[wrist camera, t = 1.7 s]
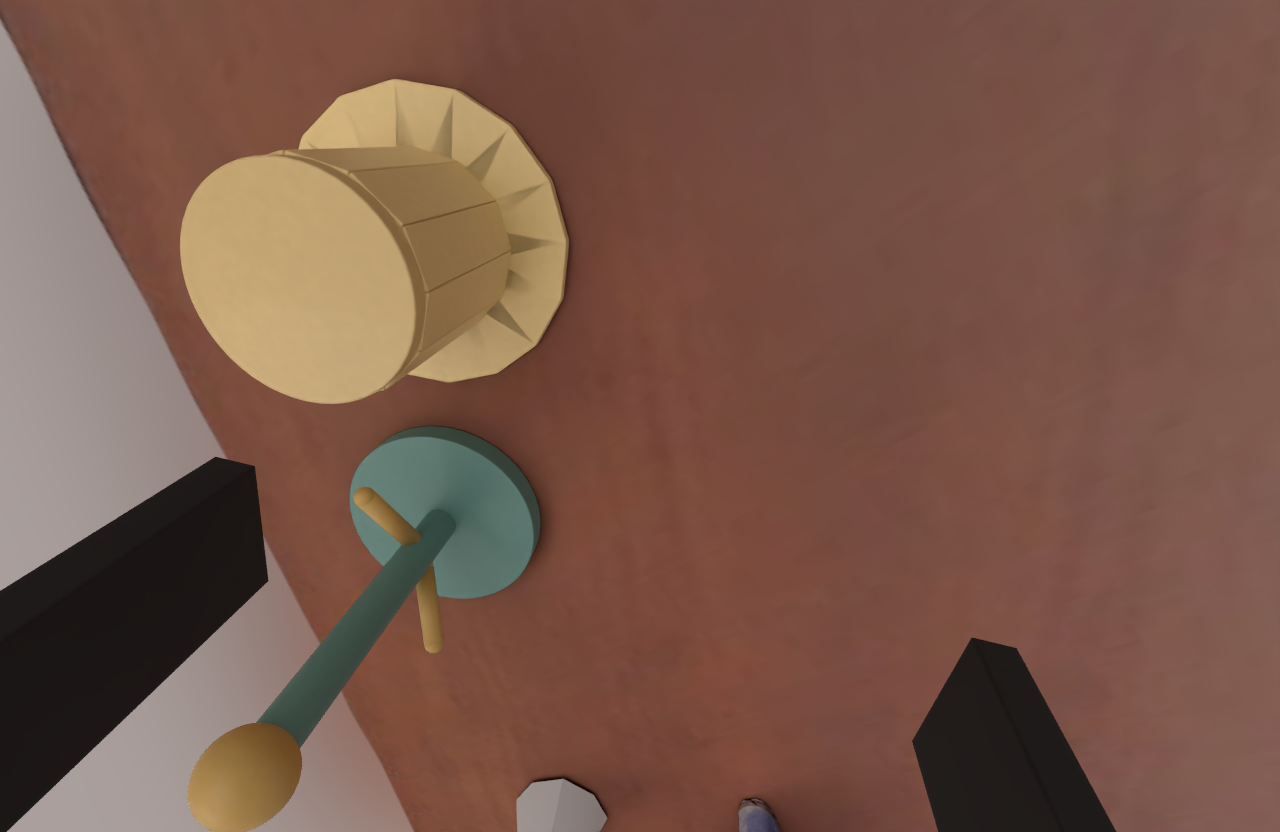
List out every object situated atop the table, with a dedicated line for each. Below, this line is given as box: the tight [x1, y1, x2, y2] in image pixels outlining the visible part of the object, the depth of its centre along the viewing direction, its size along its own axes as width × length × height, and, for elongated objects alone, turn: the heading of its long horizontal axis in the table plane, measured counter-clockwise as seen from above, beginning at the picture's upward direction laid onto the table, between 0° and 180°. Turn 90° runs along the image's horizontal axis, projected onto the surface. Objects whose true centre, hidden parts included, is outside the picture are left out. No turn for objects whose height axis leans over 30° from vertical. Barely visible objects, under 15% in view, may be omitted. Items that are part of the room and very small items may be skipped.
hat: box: [180, 79, 569, 404], centre depth 27 cm, size 15×15×11 cm
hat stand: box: [188, 426, 541, 832], centre depth 30 cm, size 12×12×20 cm
